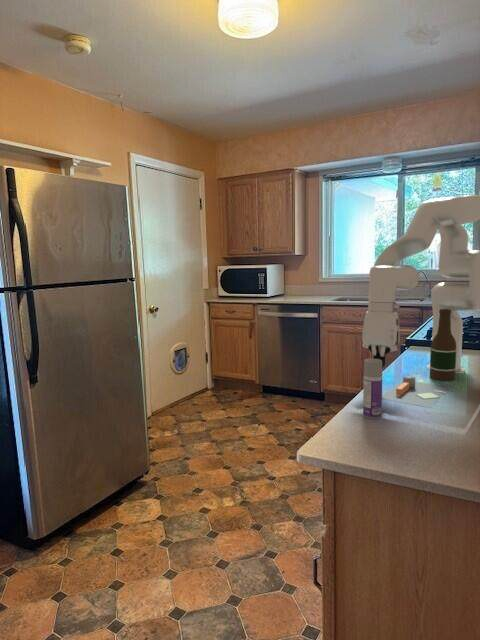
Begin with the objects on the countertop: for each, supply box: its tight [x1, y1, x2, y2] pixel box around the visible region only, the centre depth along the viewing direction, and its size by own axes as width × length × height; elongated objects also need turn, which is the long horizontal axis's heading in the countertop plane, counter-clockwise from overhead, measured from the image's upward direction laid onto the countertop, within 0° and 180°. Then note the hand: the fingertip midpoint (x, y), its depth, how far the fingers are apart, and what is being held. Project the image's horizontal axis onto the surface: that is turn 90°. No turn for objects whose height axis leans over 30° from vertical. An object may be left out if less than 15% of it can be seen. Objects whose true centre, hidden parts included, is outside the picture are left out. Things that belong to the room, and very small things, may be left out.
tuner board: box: [382, 379, 450, 408], centre depth 128 cm, size 22×14×1 cm, turn 143°
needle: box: [396, 375, 416, 395], centre depth 129 cm, size 12×4×3 cm, turn 142°
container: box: [362, 357, 383, 420], centre depth 113 cm, size 5×5×15 cm
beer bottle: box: [429, 309, 456, 382], centre depth 140 cm, size 8×8×24 cm
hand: (379, 368), depth 130 cm, fingers closed
